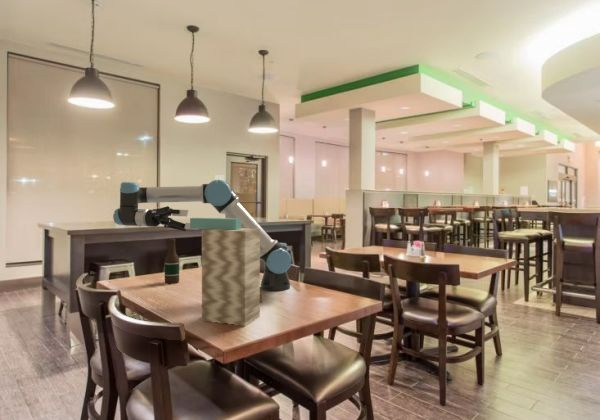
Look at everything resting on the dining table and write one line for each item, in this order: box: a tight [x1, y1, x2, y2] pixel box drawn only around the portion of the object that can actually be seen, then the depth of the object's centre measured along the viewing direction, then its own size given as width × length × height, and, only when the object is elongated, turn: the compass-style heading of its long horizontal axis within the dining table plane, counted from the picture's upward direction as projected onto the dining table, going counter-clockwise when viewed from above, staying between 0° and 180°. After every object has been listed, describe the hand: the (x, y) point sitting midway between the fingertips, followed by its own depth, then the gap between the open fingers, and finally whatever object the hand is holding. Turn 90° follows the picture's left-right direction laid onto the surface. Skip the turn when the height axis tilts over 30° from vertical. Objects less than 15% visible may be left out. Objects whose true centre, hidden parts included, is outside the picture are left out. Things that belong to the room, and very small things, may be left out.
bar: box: [189, 217, 241, 230], centre depth 148 cm, size 20×4×4 cm, turn 70°
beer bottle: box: [164, 237, 180, 285], centre depth 209 cm, size 8×8×24 cm
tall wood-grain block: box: [201, 228, 261, 327], centre depth 146 cm, size 18×12×34 cm, turn 70°
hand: (193, 220), depth 169 cm, fingers open, 13 cm apart
